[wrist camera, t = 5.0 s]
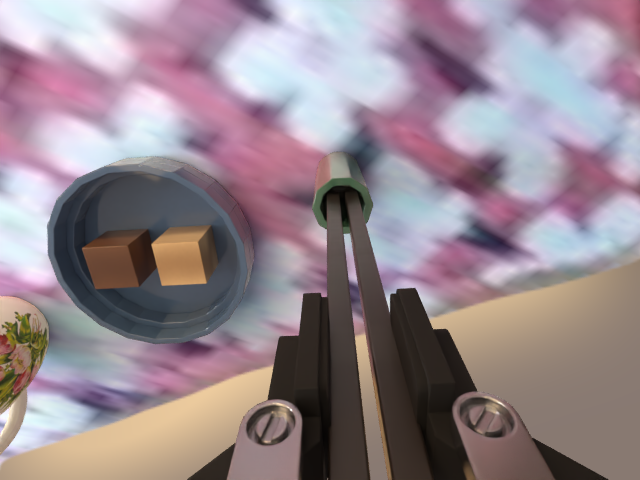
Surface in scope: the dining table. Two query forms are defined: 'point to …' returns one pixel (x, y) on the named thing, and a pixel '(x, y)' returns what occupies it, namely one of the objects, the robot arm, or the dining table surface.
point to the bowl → (157, 216)
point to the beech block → (185, 255)
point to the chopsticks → (388, 377)
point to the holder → (339, 187)
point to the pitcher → (19, 359)
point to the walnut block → (120, 258)
